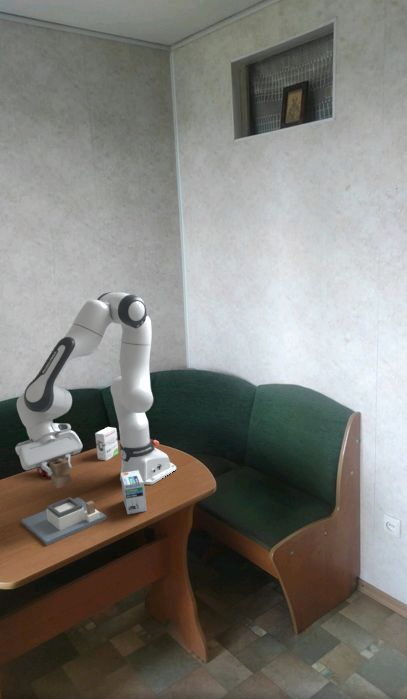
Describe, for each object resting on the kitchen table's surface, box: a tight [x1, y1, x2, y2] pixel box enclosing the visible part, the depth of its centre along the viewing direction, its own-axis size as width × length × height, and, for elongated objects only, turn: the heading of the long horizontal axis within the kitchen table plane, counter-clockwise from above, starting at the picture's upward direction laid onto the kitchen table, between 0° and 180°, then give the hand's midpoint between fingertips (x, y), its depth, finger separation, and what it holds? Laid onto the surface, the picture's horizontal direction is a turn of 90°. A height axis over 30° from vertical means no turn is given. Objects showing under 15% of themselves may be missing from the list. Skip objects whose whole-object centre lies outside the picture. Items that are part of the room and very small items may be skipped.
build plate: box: [20, 496, 107, 546], centre depth 175 cm, size 21×19×7 cm
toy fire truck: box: [36, 463, 51, 480], centre depth 212 cm, size 7×12×10 cm, turn 54°
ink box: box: [94, 426, 120, 461], centre depth 226 cm, size 9×5×12 cm, turn 150°
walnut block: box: [49, 458, 72, 489], centre depth 171 cm, size 4×4×8 cm
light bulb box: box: [120, 470, 148, 515], centre depth 182 cm, size 11×7×11 cm, turn 17°
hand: (60, 471), depth 171 cm, fingers closed on walnut block, 4 cm apart
